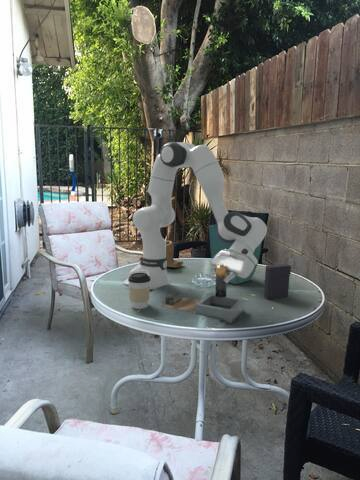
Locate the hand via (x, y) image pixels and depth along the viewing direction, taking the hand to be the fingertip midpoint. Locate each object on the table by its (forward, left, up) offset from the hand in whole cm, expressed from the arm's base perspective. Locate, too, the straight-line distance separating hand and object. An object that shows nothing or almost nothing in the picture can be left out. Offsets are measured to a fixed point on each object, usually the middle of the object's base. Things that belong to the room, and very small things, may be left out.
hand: (220, 280), depth 162 cm
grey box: (+15, +32, -14) cm, 38 cm away
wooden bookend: (-53, +55, -14) cm, 77 cm away
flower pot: (-11, +49, -14) cm, 52 cm away
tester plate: (-16, +1, -14) cm, 21 cm away
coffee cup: (-31, -10, -14) cm, 36 cm away
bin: (0, +1, -14) cm, 14 cm away
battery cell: (0, +1, -7) cm, 7 cm away
